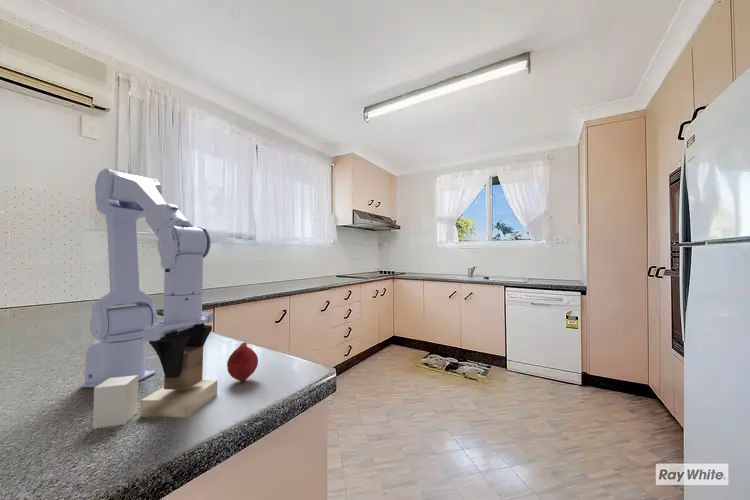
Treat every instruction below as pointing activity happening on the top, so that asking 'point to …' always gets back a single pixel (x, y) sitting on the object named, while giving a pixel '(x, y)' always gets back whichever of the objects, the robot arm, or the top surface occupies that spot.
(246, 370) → the onion
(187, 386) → the walnut block
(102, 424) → the offwhite block
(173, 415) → the beech slab
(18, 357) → the top surface
